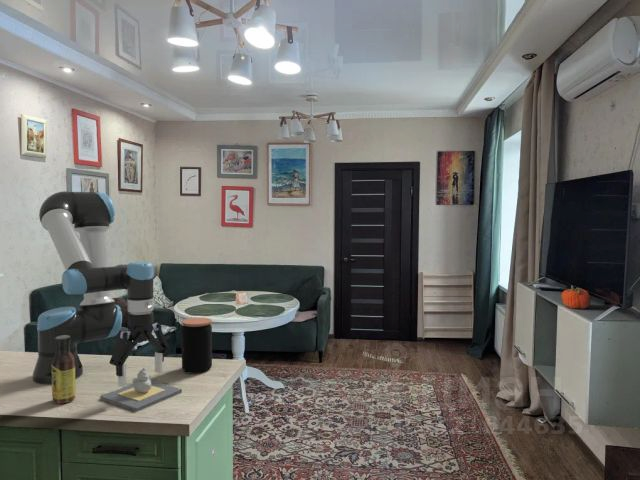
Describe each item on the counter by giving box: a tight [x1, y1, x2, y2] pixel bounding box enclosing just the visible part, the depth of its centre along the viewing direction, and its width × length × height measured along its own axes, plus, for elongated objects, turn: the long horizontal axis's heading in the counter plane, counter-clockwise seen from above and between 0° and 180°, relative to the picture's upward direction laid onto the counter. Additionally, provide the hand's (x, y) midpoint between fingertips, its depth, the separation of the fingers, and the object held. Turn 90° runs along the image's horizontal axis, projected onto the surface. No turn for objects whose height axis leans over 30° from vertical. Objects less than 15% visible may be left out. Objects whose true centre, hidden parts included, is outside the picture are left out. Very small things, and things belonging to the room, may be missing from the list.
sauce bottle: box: [51, 335, 77, 405], centre depth 140 cm, size 7×6×20 cm
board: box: [99, 379, 183, 413], centre depth 145 cm, size 17×17×1 cm
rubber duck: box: [132, 366, 152, 393], centre depth 145 cm, size 5×7×8 cm
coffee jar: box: [181, 317, 213, 374], centre depth 170 cm, size 11×11×18 cm
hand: (141, 379), depth 145 cm, fingers open, 13 cm apart
